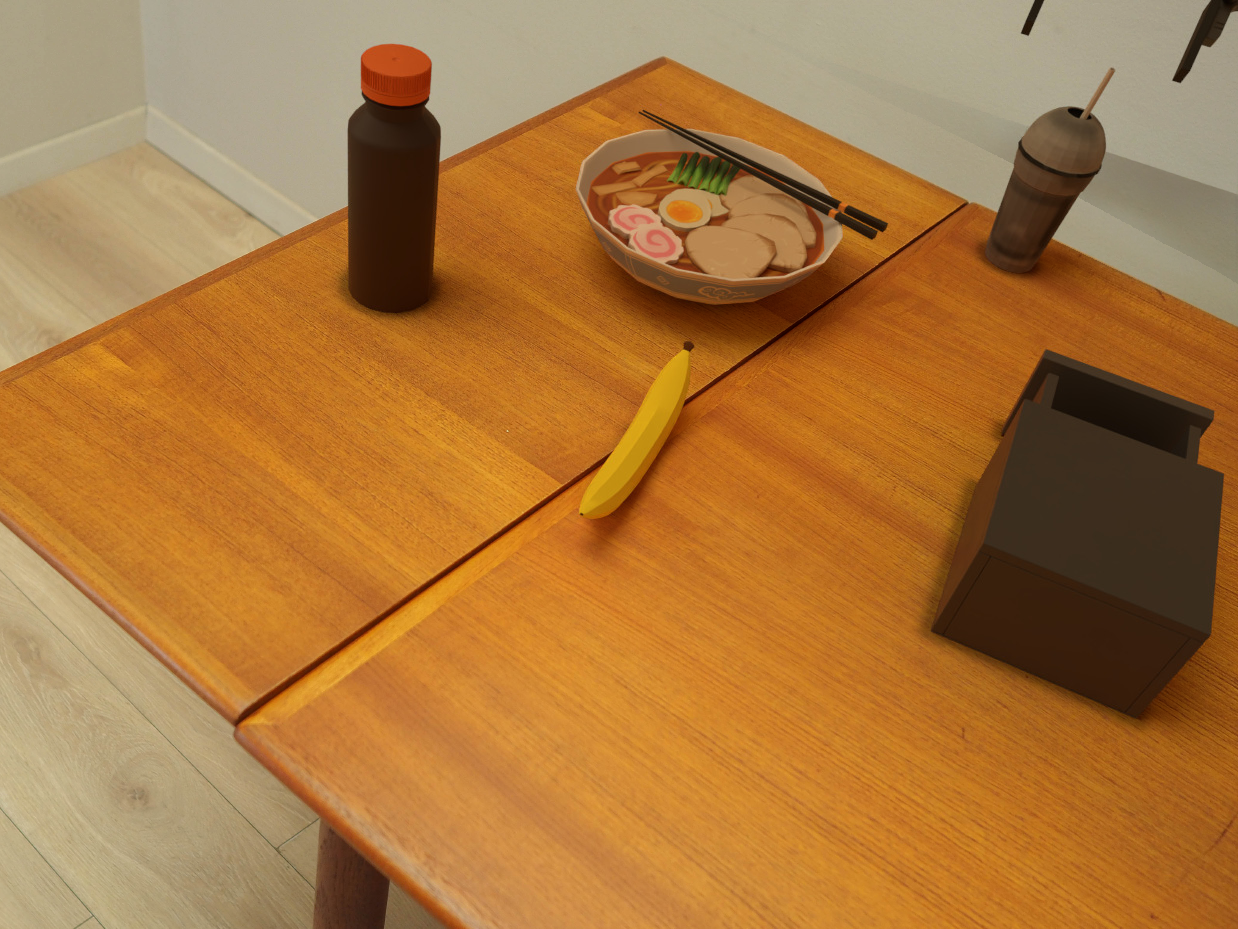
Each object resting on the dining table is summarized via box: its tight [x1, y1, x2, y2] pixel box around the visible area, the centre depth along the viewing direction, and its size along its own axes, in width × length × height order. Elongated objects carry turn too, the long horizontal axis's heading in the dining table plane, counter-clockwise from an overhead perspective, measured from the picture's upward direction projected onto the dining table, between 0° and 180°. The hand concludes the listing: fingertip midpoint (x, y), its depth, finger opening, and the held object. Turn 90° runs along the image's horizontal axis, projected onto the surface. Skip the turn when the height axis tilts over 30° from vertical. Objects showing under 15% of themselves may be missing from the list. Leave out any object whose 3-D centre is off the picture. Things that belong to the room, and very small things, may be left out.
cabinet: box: [930, 399, 1225, 720], centre depth 78 cm, size 16×14×10 cm
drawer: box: [1000, 348, 1215, 464], centre depth 85 cm, size 19×12×8 cm, turn 155°
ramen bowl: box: [575, 109, 889, 306], centre depth 100 cm, size 25×23×8 cm
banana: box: [578, 340, 695, 520], centre depth 82 cm, size 3×19×6 cm, turn 154°
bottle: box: [347, 43, 442, 314], centre depth 88 cm, size 7×7×20 cm
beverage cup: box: [984, 66, 1117, 274], centre depth 103 cm, size 7×7×20 cm
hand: (1102, 52), depth 103 cm, fingers open, 13 cm apart
